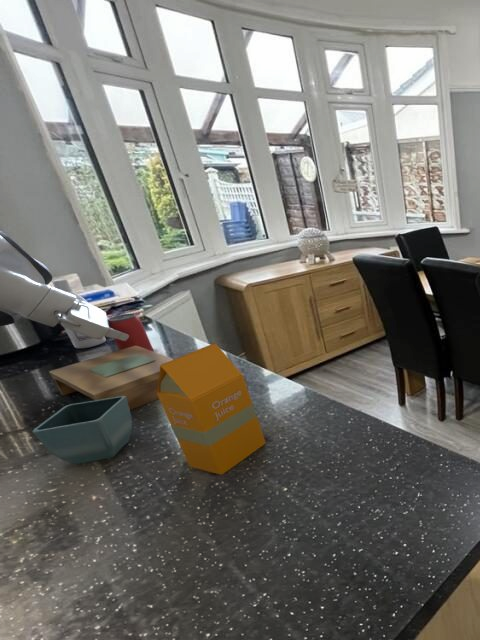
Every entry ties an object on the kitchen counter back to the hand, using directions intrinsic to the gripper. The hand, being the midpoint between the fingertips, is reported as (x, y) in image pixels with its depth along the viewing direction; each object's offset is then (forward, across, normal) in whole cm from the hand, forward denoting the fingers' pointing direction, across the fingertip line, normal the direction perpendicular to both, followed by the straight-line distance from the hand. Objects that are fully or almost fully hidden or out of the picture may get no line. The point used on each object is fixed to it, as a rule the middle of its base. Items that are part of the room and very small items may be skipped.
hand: (126, 333), depth 106 cm
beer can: (+6, 0, +5) cm, 8 cm away
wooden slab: (+3, -22, +8) cm, 23 cm away
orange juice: (+11, -68, 0) cm, 68 cm away
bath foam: (-1, +25, +12) cm, 27 cm away
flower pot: (0, -50, +11) cm, 52 cm away
